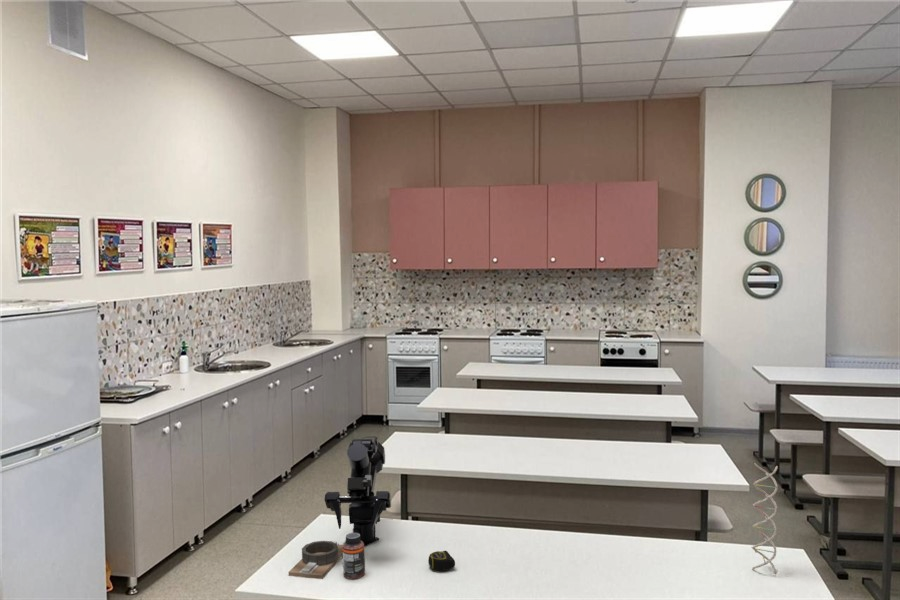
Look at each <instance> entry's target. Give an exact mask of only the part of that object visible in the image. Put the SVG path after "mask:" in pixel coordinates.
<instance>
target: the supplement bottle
mask: <svg viewBox="0 0 900 600" xmlns="http://www.w3.org/2000/svg"><path fill="white" fill-rule="evenodd" d="M342 545H343V556H342V569H343V571H342V572H343V573H342V574H343V577H345V578H346V579H349V580H356V579H360V578H362V577H364V575H365V572H366V569H365V567H366V566H365V565H366V564H365V563H366V561H365V546H364V543H363V542H362V541H361V540H360V534H359V533H353V532H350V533H347V534H345V542H344V543H343V544H342Z"/></svg>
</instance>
